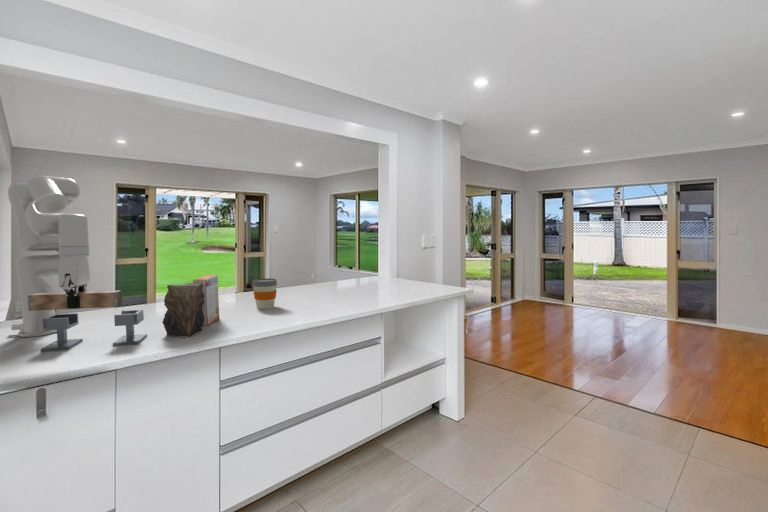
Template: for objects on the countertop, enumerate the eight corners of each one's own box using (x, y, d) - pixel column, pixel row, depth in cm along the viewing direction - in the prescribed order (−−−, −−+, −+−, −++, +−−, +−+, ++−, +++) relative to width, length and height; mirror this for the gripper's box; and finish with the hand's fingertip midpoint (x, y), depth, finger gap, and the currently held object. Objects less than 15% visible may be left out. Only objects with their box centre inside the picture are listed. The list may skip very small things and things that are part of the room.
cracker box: (206, 319, 171) (205, 275, 170) (219, 318, 172) (218, 275, 170) (193, 327, 157) (192, 279, 156) (208, 326, 158) (206, 279, 156)
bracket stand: (40, 351, 125) (38, 320, 124) (56, 343, 134) (54, 313, 133) (138, 343, 134) (137, 314, 133) (146, 336, 143) (145, 308, 142)
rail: (28, 311, 115) (27, 295, 115) (36, 308, 119) (35, 293, 118) (117, 307, 122) (116, 292, 122) (122, 304, 126) (121, 290, 126)
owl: (161, 335, 145) (159, 285, 143) (185, 327, 157) (183, 281, 155) (188, 337, 142) (186, 287, 140) (210, 329, 154) (209, 282, 153)
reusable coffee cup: (273, 309, 191) (272, 281, 190) (249, 309, 192) (248, 281, 190) (280, 304, 204) (279, 278, 203) (258, 304, 204) (257, 278, 203)
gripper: (73, 250, 126) (76, 302, 127) (45, 253, 110) (49, 313, 112) (99, 250, 128) (101, 301, 130) (75, 253, 112) (78, 311, 114)
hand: (77, 306), depth 121 cm, fingers closed on rail, 4 cm apart
